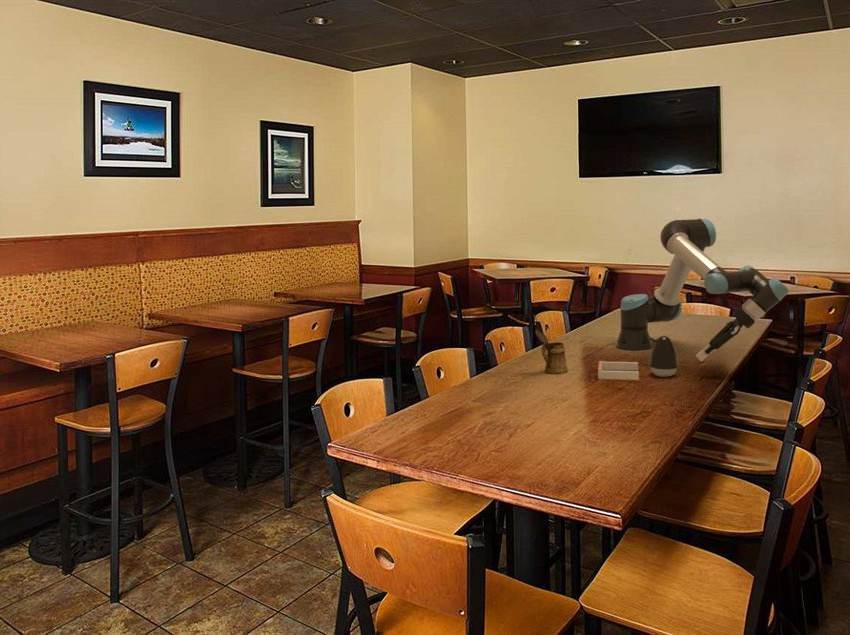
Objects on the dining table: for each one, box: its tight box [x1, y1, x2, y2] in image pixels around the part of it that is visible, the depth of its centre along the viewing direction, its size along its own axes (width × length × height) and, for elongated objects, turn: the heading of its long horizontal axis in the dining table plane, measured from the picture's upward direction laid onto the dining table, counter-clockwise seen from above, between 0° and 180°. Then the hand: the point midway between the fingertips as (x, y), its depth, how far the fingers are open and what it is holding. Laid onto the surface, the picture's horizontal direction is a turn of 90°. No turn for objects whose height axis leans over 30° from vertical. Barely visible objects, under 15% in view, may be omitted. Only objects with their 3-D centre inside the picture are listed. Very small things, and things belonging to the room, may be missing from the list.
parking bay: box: [597, 360, 640, 381], centre depth 276 cm, size 16×15×3 cm
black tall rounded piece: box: [649, 335, 679, 378], centre depth 270 cm, size 10×10×15 cm
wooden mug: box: [534, 328, 569, 374], centre depth 282 cm, size 9×14×18 cm, turn 112°
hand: (698, 358), depth 267 cm, fingers closed
